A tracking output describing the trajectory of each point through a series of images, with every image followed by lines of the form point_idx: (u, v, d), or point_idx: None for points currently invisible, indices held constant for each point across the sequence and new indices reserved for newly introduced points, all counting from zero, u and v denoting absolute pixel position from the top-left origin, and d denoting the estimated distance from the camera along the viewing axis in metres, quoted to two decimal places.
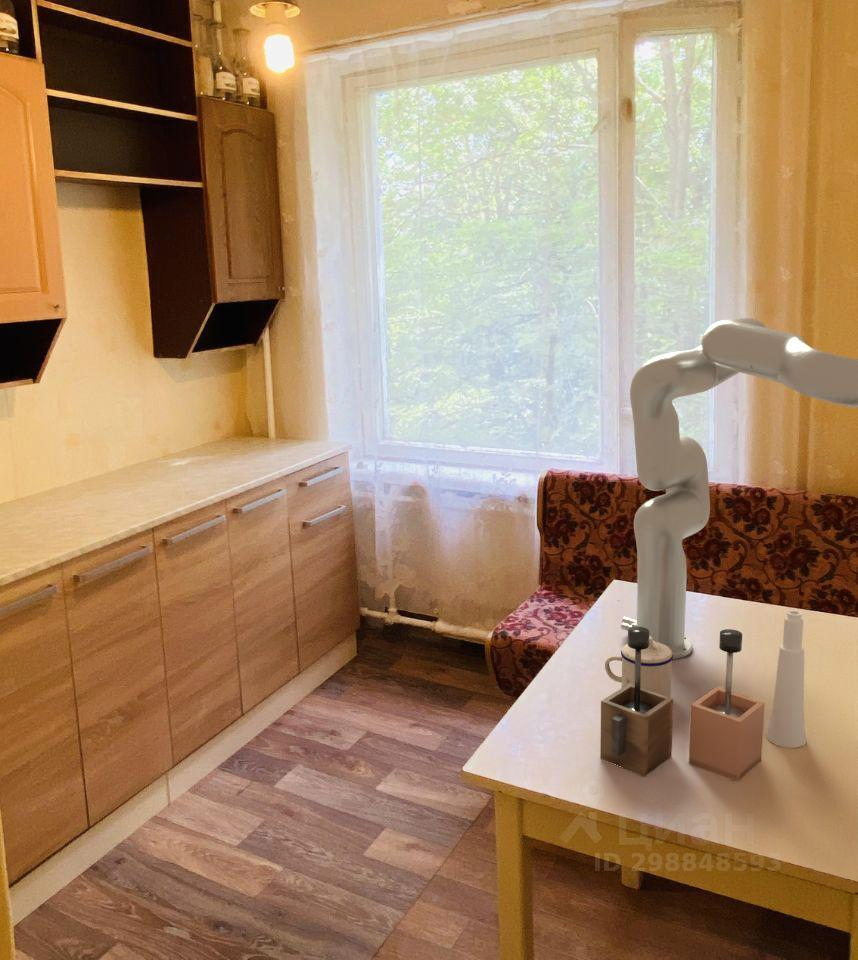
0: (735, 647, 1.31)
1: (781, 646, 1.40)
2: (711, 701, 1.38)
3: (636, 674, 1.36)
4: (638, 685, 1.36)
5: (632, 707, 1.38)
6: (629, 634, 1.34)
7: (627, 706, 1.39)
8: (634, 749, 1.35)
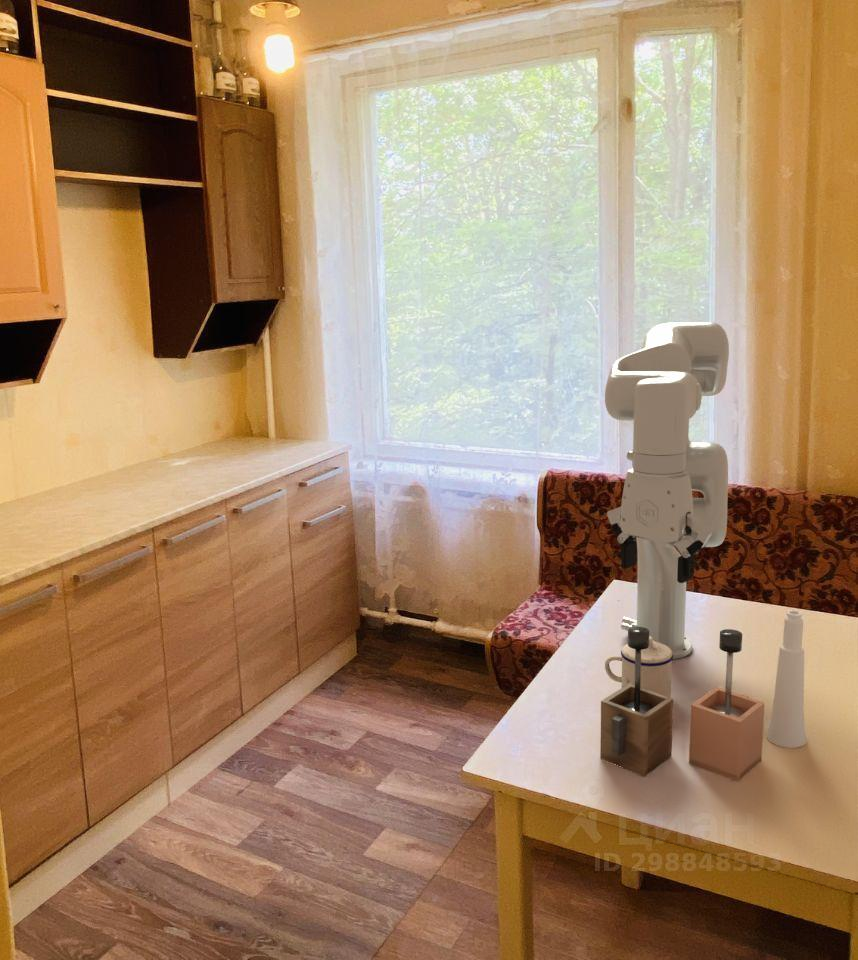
0: (735, 647, 1.31)
1: (781, 646, 1.40)
2: (711, 701, 1.38)
3: (636, 674, 1.36)
4: (638, 685, 1.36)
5: (632, 707, 1.38)
6: (629, 634, 1.34)
7: (627, 706, 1.39)
8: (634, 749, 1.35)
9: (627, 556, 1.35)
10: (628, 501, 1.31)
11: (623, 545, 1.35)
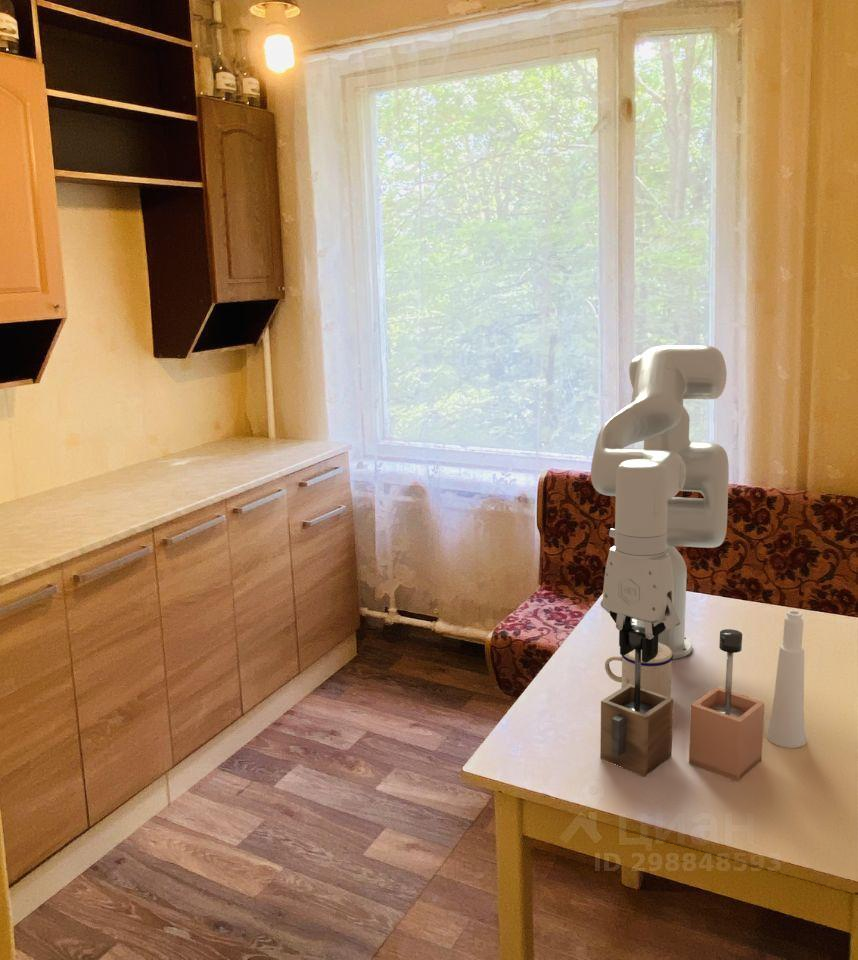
0: (735, 647, 1.31)
1: (781, 646, 1.40)
2: (711, 701, 1.38)
3: (636, 674, 1.36)
4: (638, 685, 1.36)
5: (632, 707, 1.38)
6: (629, 634, 1.34)
7: (627, 706, 1.39)
8: (634, 749, 1.35)
9: (626, 643, 1.36)
10: (610, 579, 1.33)
11: (622, 632, 1.35)
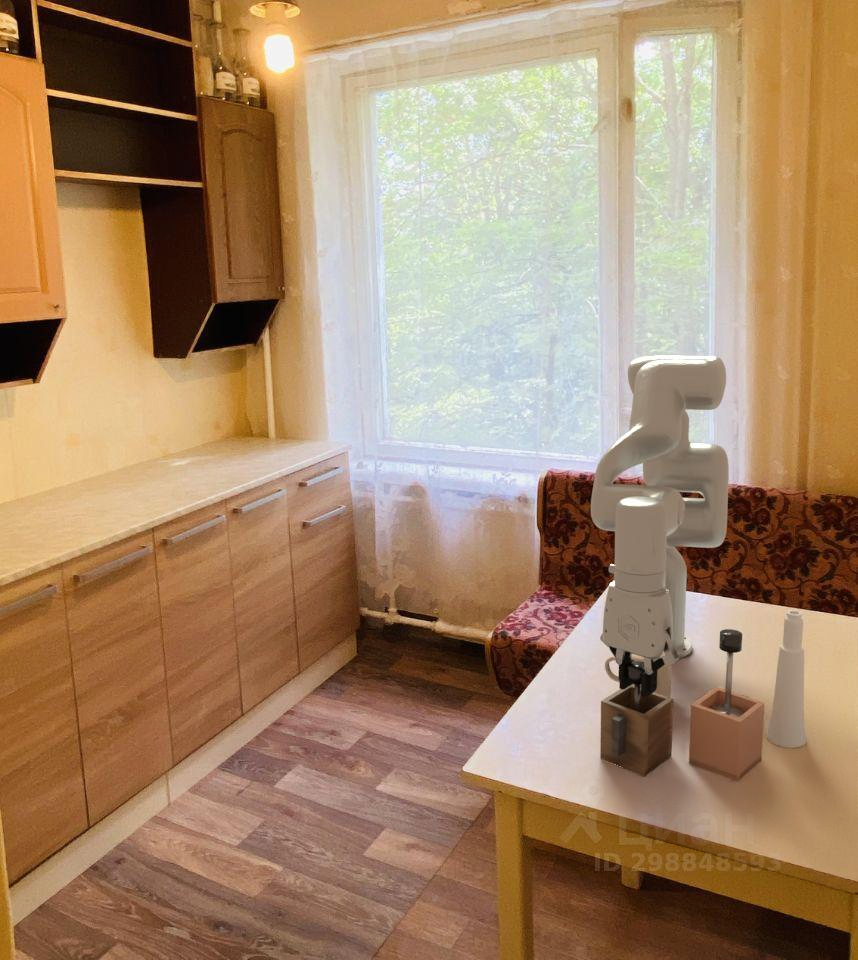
0: (735, 647, 1.31)
1: (781, 646, 1.40)
2: (711, 701, 1.38)
3: (635, 708, 1.37)
4: None
5: None
6: (628, 669, 1.36)
7: None
8: (634, 749, 1.35)
9: (625, 677, 1.37)
10: (610, 614, 1.35)
11: (621, 667, 1.36)
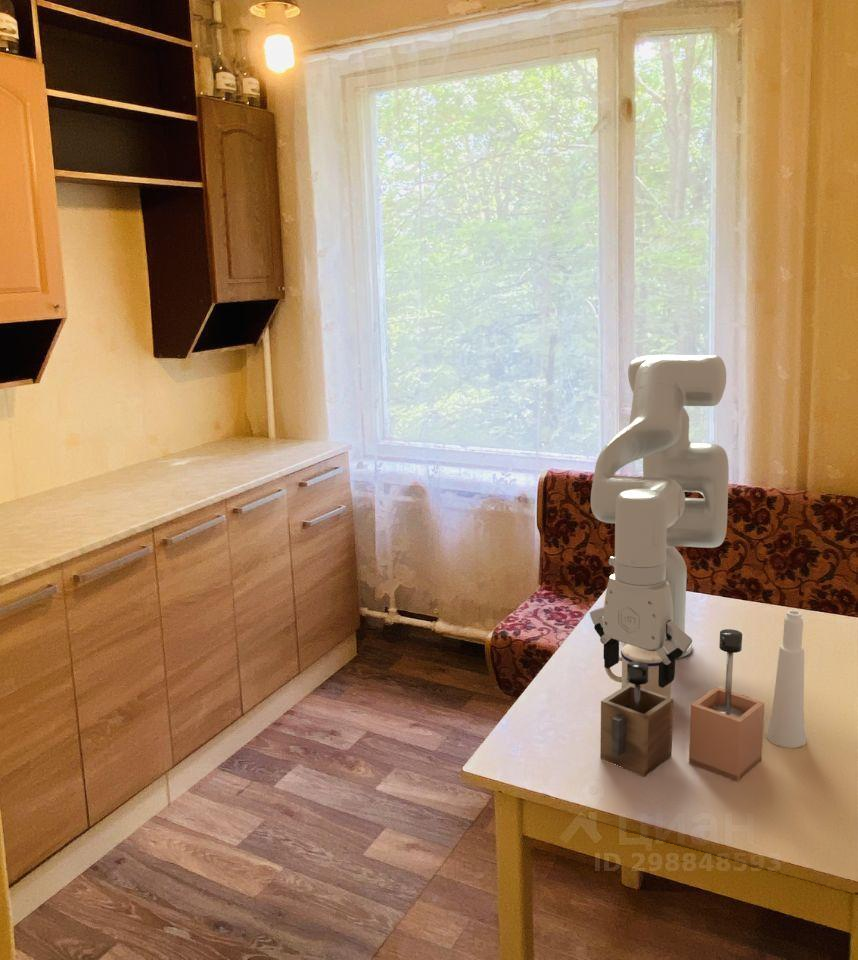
0: (735, 647, 1.31)
1: (781, 646, 1.40)
2: (711, 701, 1.38)
3: (635, 708, 1.37)
4: None
5: None
6: (628, 669, 1.36)
7: None
8: (634, 749, 1.35)
9: (610, 656, 1.39)
10: (610, 606, 1.35)
11: (606, 646, 1.38)
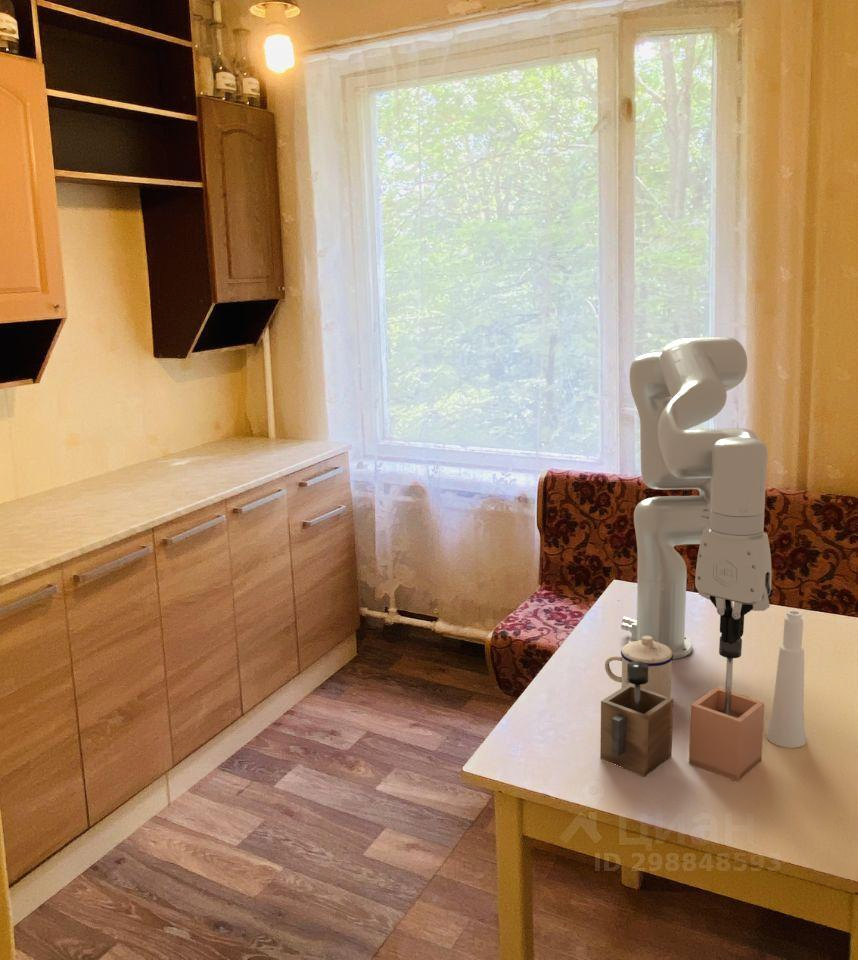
0: (735, 653, 1.32)
1: (781, 646, 1.40)
2: (711, 701, 1.38)
3: (635, 708, 1.37)
4: None
5: None
6: (628, 669, 1.36)
7: None
8: (634, 749, 1.35)
9: (727, 628, 1.31)
10: (704, 560, 1.30)
11: (724, 617, 1.31)
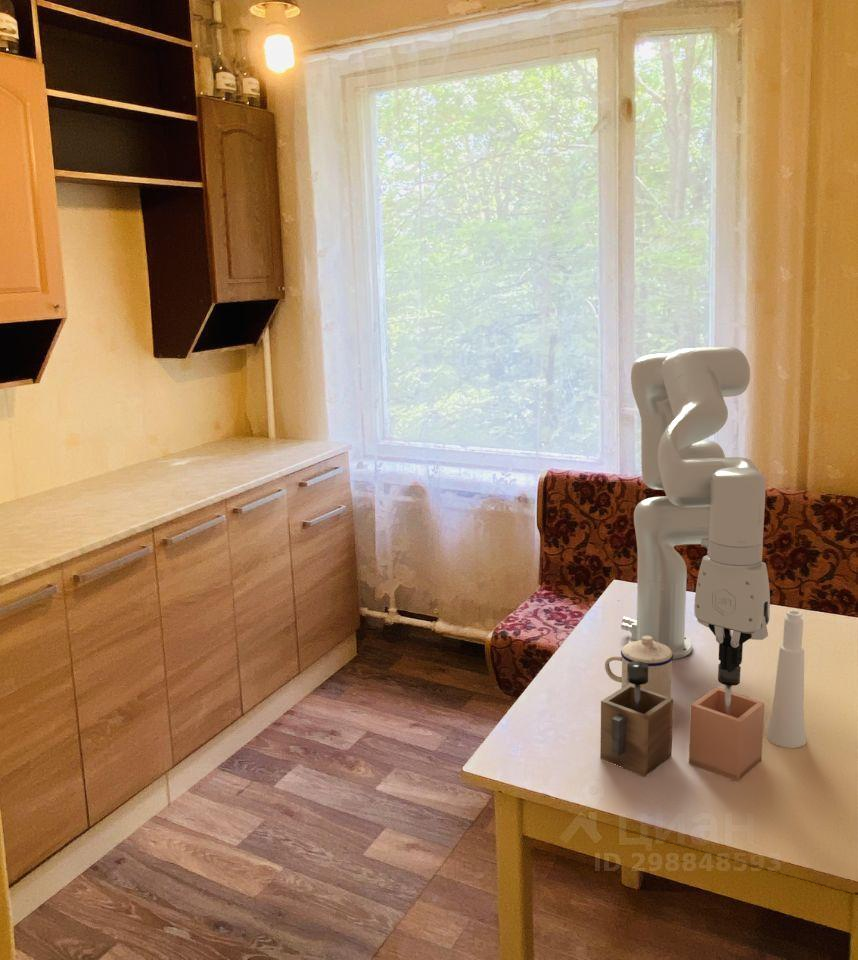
0: (733, 680, 1.33)
1: (781, 646, 1.40)
2: (711, 701, 1.38)
3: (635, 708, 1.37)
4: None
5: None
6: (628, 669, 1.36)
7: None
8: (634, 749, 1.35)
9: None
10: (703, 589, 1.31)
11: (722, 646, 1.32)
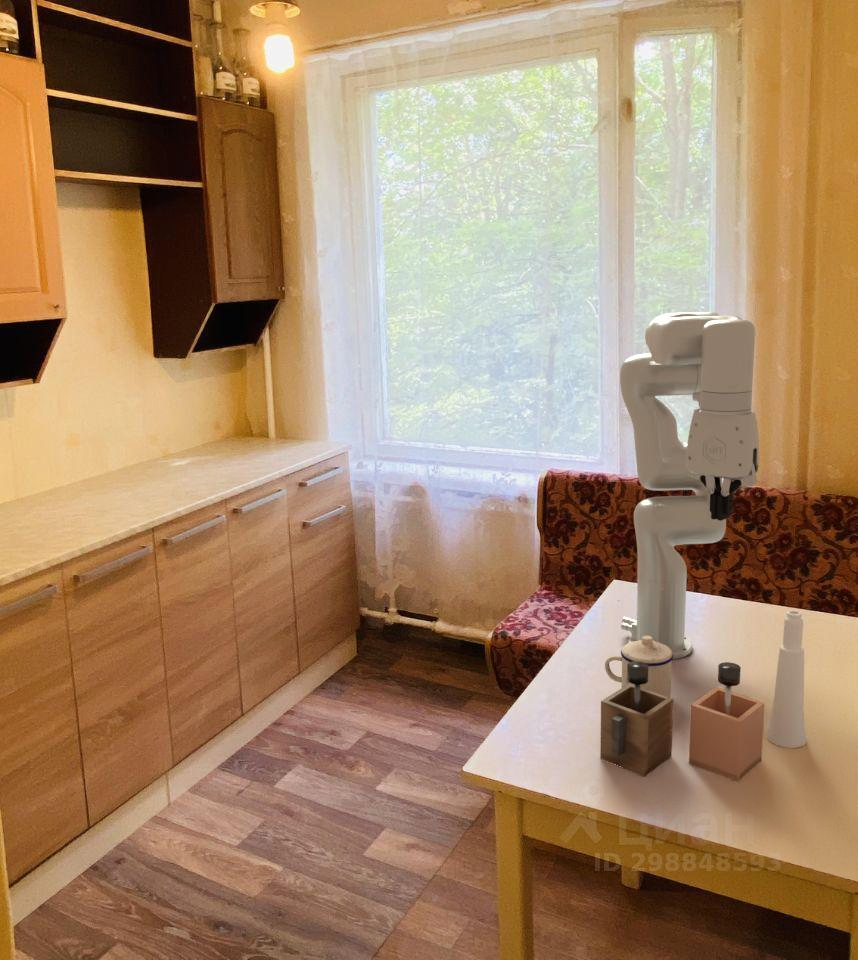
0: (733, 681, 1.33)
1: (781, 646, 1.40)
2: (711, 701, 1.38)
3: (635, 708, 1.37)
4: None
5: None
6: (628, 669, 1.36)
7: None
8: (634, 749, 1.35)
9: None
10: (695, 440, 1.36)
11: (713, 495, 1.36)
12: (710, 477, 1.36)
